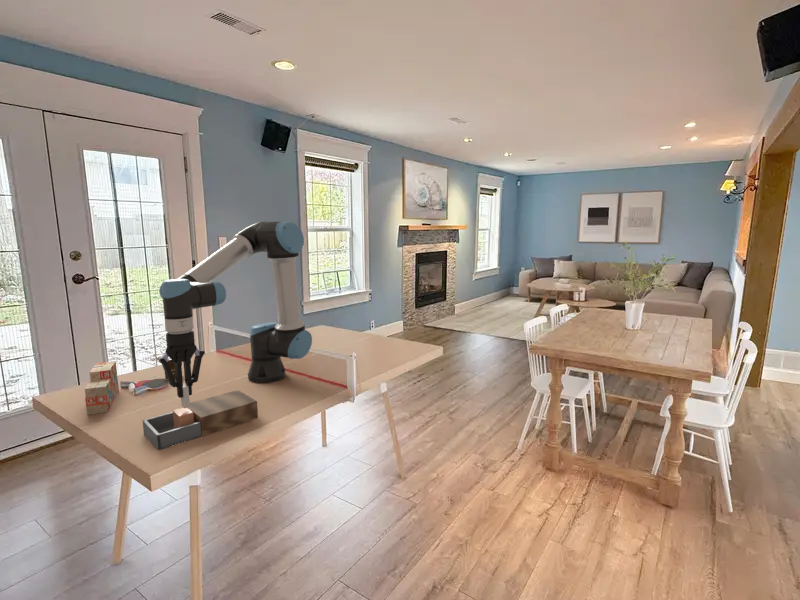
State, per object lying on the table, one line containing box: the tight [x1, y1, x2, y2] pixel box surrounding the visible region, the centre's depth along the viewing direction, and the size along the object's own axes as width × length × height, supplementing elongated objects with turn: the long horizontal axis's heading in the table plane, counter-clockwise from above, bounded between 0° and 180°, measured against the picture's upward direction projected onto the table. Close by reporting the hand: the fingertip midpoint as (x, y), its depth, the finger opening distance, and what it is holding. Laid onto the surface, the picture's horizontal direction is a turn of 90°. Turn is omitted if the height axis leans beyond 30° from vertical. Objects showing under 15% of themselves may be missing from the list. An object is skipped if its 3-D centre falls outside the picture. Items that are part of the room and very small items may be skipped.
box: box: [142, 411, 202, 451], centre depth 131 cm, size 12×14×4 cm
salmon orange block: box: [172, 407, 194, 429], centre depth 133 cm, size 6×6×4 cm
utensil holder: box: [164, 357, 176, 380], centre depth 182 cm, size 6×6×12 cm
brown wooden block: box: [187, 389, 259, 437], centre depth 141 cm, size 18×14×6 cm
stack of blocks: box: [84, 360, 120, 416], centre depth 155 cm, size 21×6×12 cm, turn 25°
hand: (185, 406), depth 133 cm, fingers closed
